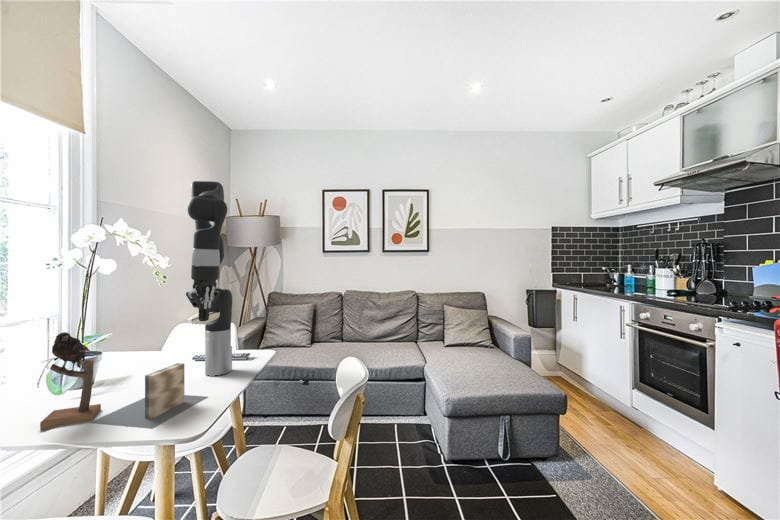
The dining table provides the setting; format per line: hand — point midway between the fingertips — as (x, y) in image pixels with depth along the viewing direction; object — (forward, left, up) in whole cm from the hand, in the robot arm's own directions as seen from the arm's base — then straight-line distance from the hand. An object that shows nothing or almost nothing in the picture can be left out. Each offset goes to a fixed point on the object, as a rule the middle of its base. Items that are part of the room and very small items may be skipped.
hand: (203, 320), depth 107 cm
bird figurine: (+11, -32, -27) cm, 43 cm away
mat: (+4, -13, -26) cm, 30 cm away
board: (+4, -9, -26) cm, 28 cm away
